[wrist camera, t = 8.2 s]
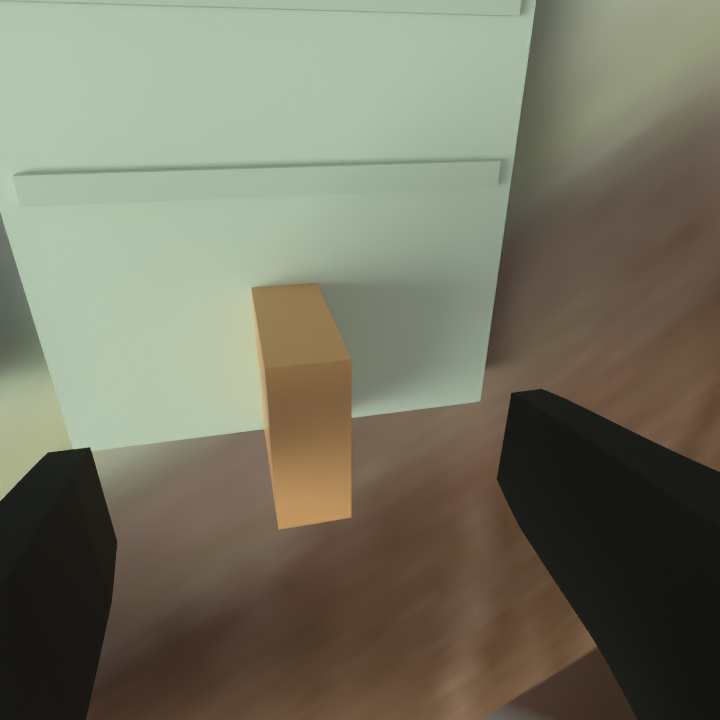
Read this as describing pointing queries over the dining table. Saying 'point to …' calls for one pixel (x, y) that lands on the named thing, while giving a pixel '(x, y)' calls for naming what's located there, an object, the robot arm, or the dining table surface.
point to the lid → (259, 214)
